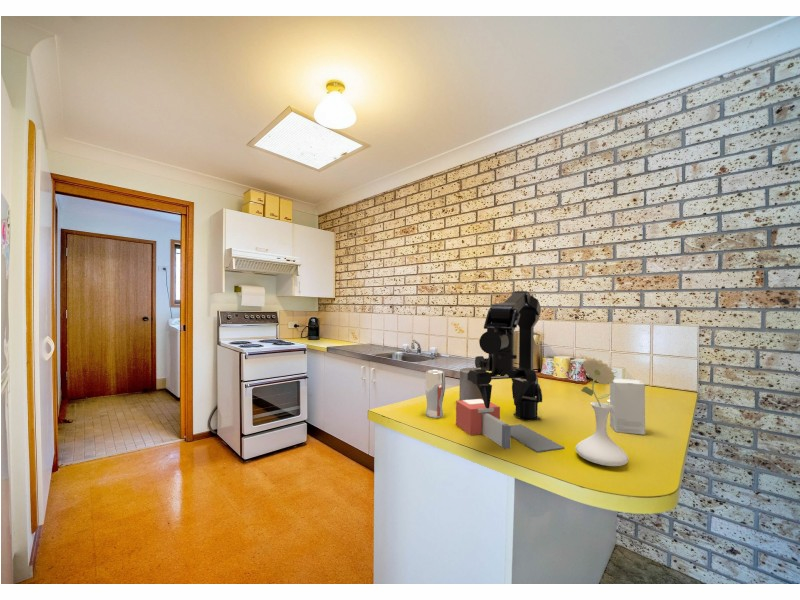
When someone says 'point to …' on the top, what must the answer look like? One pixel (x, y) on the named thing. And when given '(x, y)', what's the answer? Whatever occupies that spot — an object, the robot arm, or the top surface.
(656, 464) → the top surface
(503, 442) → the grey rectangular bar
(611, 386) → the skincare box
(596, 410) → the flower in vase
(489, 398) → the robot arm
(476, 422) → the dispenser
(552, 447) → the mat
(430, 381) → the beer glass
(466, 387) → the pillar candle
